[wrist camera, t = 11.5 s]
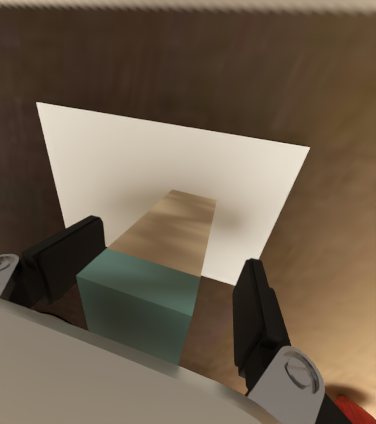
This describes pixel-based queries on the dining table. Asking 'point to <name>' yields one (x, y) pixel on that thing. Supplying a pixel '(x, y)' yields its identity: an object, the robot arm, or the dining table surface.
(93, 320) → the block
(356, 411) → the onion
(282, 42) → the dining table surface
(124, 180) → the mat
